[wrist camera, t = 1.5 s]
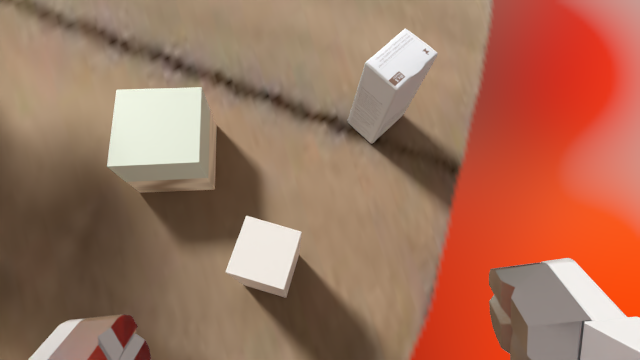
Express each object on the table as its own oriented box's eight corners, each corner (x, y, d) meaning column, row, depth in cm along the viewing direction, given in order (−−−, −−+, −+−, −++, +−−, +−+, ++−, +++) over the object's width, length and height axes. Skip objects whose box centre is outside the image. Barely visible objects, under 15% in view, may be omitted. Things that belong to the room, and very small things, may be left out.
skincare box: (377, 94, 47) (404, 22, 36) (404, 117, 46) (441, 51, 35) (344, 124, 45) (361, 58, 34) (372, 148, 44) (399, 89, 33)
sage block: (125, 182, 37) (106, 166, 33) (133, 111, 40) (116, 89, 36) (208, 177, 38) (199, 162, 34) (210, 108, 40) (201, 87, 37)
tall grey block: (286, 297, 38) (283, 289, 27) (243, 285, 38) (225, 272, 28) (299, 254, 39) (301, 231, 29) (258, 242, 39) (246, 215, 29)
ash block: (140, 193, 41) (124, 180, 37) (147, 128, 44) (133, 110, 40) (215, 190, 41) (207, 177, 38) (217, 126, 44) (210, 108, 40)
